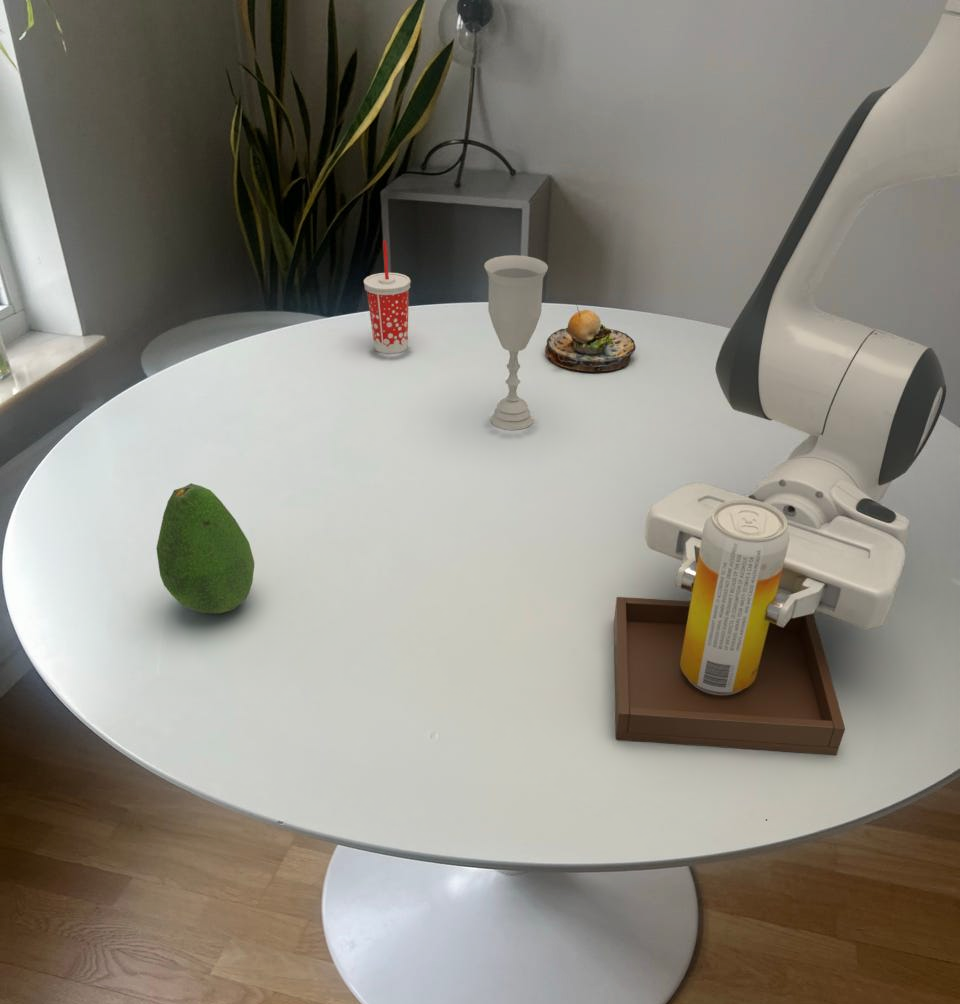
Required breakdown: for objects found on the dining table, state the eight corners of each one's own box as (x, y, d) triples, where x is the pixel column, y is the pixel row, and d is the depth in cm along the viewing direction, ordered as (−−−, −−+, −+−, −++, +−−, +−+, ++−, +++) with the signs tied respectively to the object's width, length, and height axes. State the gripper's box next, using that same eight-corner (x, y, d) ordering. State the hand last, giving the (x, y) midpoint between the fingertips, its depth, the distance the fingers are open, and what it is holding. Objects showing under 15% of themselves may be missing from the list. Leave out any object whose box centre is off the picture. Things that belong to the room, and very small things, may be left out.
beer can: (753, 654, 80) (790, 500, 71) (756, 704, 76) (795, 546, 66) (679, 646, 81) (706, 492, 72) (678, 695, 77) (706, 537, 67)
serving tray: (805, 633, 84) (812, 608, 82) (836, 755, 73) (845, 728, 71) (613, 621, 85) (616, 596, 83) (615, 739, 74) (618, 713, 72)
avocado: (217, 570, 91) (194, 457, 83) (278, 599, 88) (259, 484, 80) (151, 613, 86) (119, 496, 78) (212, 645, 83) (185, 527, 75)
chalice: (475, 410, 117) (475, 258, 105) (528, 403, 118) (533, 252, 107) (494, 438, 111) (497, 281, 100) (549, 429, 113) (558, 274, 102)
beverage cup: (421, 342, 133) (417, 237, 124) (400, 359, 128) (394, 251, 120) (382, 335, 135) (375, 230, 126) (360, 351, 130) (351, 244, 121)
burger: (646, 369, 126) (652, 312, 121) (559, 377, 124) (562, 320, 119) (616, 334, 135) (621, 280, 130) (535, 341, 133) (537, 286, 128)
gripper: (691, 450, 84) (612, 519, 75) (931, 526, 75) (872, 614, 66) (681, 512, 88) (605, 584, 79) (908, 591, 79) (849, 683, 70)
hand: (729, 599), depth 73 cm, fingers closed on beer can, 6 cm apart
